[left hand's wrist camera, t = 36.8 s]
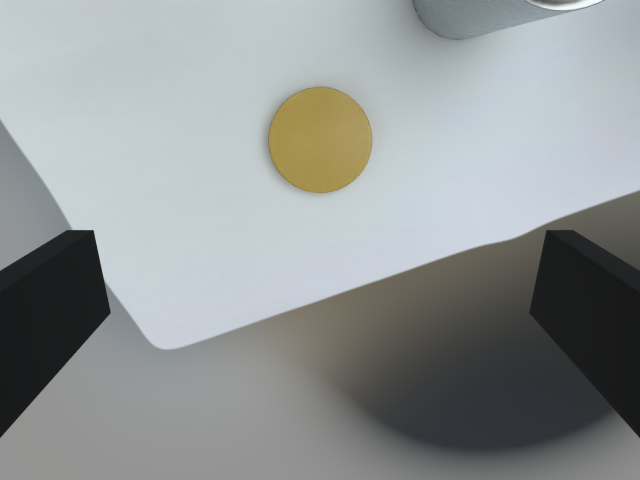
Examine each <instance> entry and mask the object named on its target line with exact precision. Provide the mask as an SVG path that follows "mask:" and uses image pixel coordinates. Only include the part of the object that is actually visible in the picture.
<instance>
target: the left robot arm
mask: <svg viewBox="0 0 640 480" xmlns="http://www.w3.org/2000/svg"><path fill="white" fill-rule="evenodd" d="M110 313H111V312H110V307H109V302H108V297H107V293H106V288H105V283H104V278H103V273H102V269H101V264H100V259H99V254H98V249H97V245H96V240H95V235H94V230H67V231H65V232H63V233H62V234H60V235H58V236H57V237H55V238H53V239H52V240H50V241H49V242H47V243H45V244H44V245H42V246H40V247H39V248H37V249H35V250H34V251H32V252H30V253H29V254H27V255H26V256H24V257H22V258H21V259H19V260H17V261H16V262H14V263H12V264H11V265H9V266H7V267H6V268H4V269H3V270H1V271H0V437H1V436H2V435H3V434H4V433H5V432H6V431H7V430H8V428H9V427H10V426H11V425H12V424H13V423H14V422H15V421H16V419H17V418H18V417H19V416H20V415H21V414H22V413H23V411H24V410H25V409H26V408H27V407H28V406H29V405H30V404H31V402H32V401H33V400H34V399H35V398H36V397H37V396H38V395H39V393H40V392H41V391H42V390H43V389H44V388H45V387H46V385H47V384H48V383H49V382H50V381H51V380H52V379H53V378H54V376H55V375H56V374H57V373H58V372H59V371H60V370H61V369H62V367H63V366H64V365H65V364H66V363H67V362H68V361H69V359H70V358H71V357H72V356H73V355H74V354H75V353H76V352H77V350H78V349H79V348H80V347H81V346H82V345H83V344H84V343H85V341H86V340H87V339H88V338H89V337H90V336H91V335H92V333H93V332H94V331H95V330H96V329H97V328H98V327H99V326H100V324H101V323H102V322H103V321H104V320H105V319H106V318H107V317H108V315H109V314H110ZM529 313H530V314H531V315H532V317H533V318H534V319H535V320H536V321H537V322H538V323H539V324H540V326H541V327H542V328H543V329H544V330H545V331H546V332H547V333H548V335H549V336H550V337H551V338H552V339H553V340H554V341H555V343H556V344H557V345H558V346H559V347H560V348H561V349H562V350H563V352H564V353H565V354H566V355H567V356H568V357H569V358H570V359H571V361H572V362H573V363H574V364H575V365H576V366H577V367H578V369H579V370H580V371H581V372H582V373H583V374H584V375H585V376H586V378H587V379H588V380H589V381H590V382H591V383H592V384H593V385H594V387H595V388H596V389H597V390H598V391H599V392H600V393H601V395H602V396H603V397H604V398H605V399H606V400H607V401H608V402H609V404H610V405H611V406H612V407H613V408H614V409H615V410H616V412H617V413H618V414H619V415H620V416H621V417H622V418H623V419H624V421H625V422H626V423H627V424H628V425H629V426H630V427H631V428H632V430H633V431H634V432H635V433H636V434H637V435H638V436H639V438H640V271H639V270H637V269H636V268H634V267H633V266H631V265H629V264H628V263H626V262H624V261H623V260H621V259H619V258H618V257H616V256H614V255H613V254H611V253H610V252H608V251H606V250H605V249H603V248H601V247H600V246H598V245H596V244H595V243H593V242H591V241H590V240H588V239H587V238H585V237H583V236H582V235H580V234H578V233H577V232H575V231H573V230H547V231H546V235H545V240H544V245H543V249H542V254H541V259H540V264H539V269H538V273H537V278H536V283H535V288H534V293H533V297H532V302H531V307H530V312H529Z"/></svg>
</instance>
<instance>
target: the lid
mask: <svg viewBox="0 0 640 480" xmlns="http://www.w3.org/2000/svg"><path fill="white" fill-rule="evenodd" d="M371 148H372V132H371V127H370V123H369V121H368V119H367V116H366V115H365V113H364V111H363V110H362V108H361V107H360V106H359V105H358V104H357V103H356V102H355V101H354V100H353V99H352V98H351V97H349V96H348V95H346V94H344V93H343V92H341V91H338V90H335V89H332V88H326V87H314V88H309V89H306V90H303V91H300V92H298V93H296V94H295V95H293V96H292V97H290V98H289V99H288V100H287V101H286V102H284V103H283V105H282V106H281V107H280V108H279V109H278V111H277V113H276V114H275V116H274V118H273V120H272V123H271V127H270V131H269V149H270V154H271V157H272V160H273V162H274V164H275V166H276V168H277V169H278V171H279V172H280V174H281V175H282V176H283V177H284V178H285V179H286V180H287V181H288V182H290V183H291V184H293V185H294V186H296V187H298V188H300V189H302V190H305V191H309V192H315V193H326V192H332V191H335V190H339V189H341V188H343V187H345V186H347V185H348V184H350V183H351V182H352V181H354V180H355V179H356V178H357V177H358V176H359V175H360V173H361V172H362V171H363V169H364V168H365V166H366V164H367V162H368V159H369V157H370V153H371Z"/></svg>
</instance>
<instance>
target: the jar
mask: <svg viewBox="0 0 640 480" xmlns="http://www.w3.org/2000/svg"><path fill="white" fill-rule="evenodd" d="M602 1H604V0H413V3H414V6H415V9H416V12H417V14H418V16H419V17H420V19H421V20H422V22H423V23H424V24H425V25H426V26H427V27H428V28H429V29H430V30H431V31H432V32H434V33H436V34H437V35H439V36H442V37H445V38H449V39H466V38H470V37H474V36H478V35H482V34H486V33H490V32H494V31H498V30H502V29H505V28H509V27H513V26H517V25H521V24H525V23H529V22H533V21H537V20H540V19H544V18H548V17H552V16H556V15H560V14H564V13H568V12H571V11H575V10H579V9H583V8H587V7H590V6H592V5H595V4H598V3H600V2H602Z"/></svg>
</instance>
